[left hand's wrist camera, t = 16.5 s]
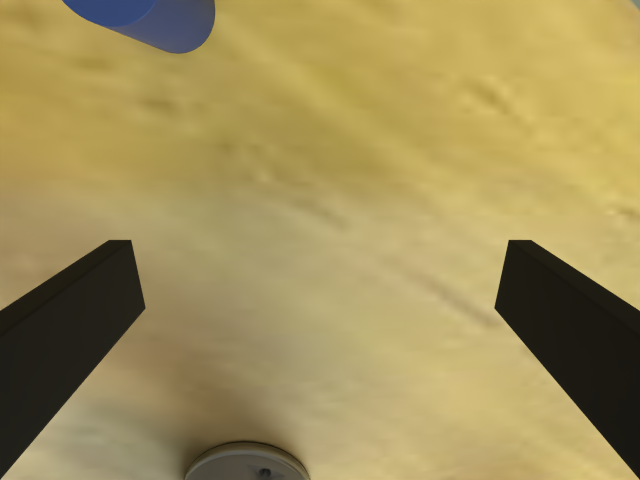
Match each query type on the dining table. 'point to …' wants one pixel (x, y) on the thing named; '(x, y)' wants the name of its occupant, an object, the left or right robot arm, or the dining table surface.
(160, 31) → the can
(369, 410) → the dining table surface
